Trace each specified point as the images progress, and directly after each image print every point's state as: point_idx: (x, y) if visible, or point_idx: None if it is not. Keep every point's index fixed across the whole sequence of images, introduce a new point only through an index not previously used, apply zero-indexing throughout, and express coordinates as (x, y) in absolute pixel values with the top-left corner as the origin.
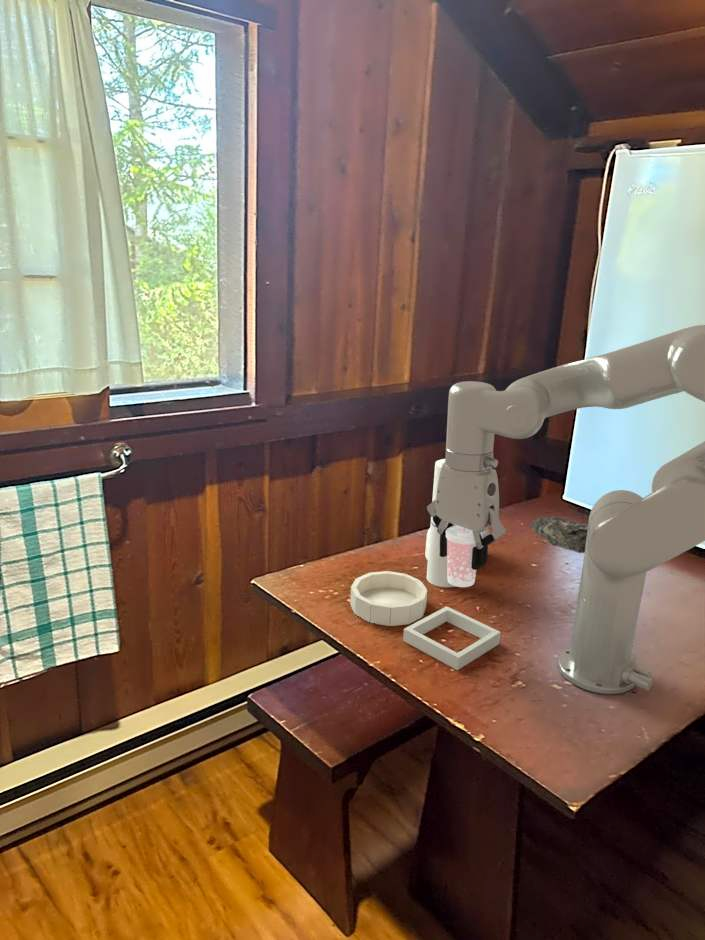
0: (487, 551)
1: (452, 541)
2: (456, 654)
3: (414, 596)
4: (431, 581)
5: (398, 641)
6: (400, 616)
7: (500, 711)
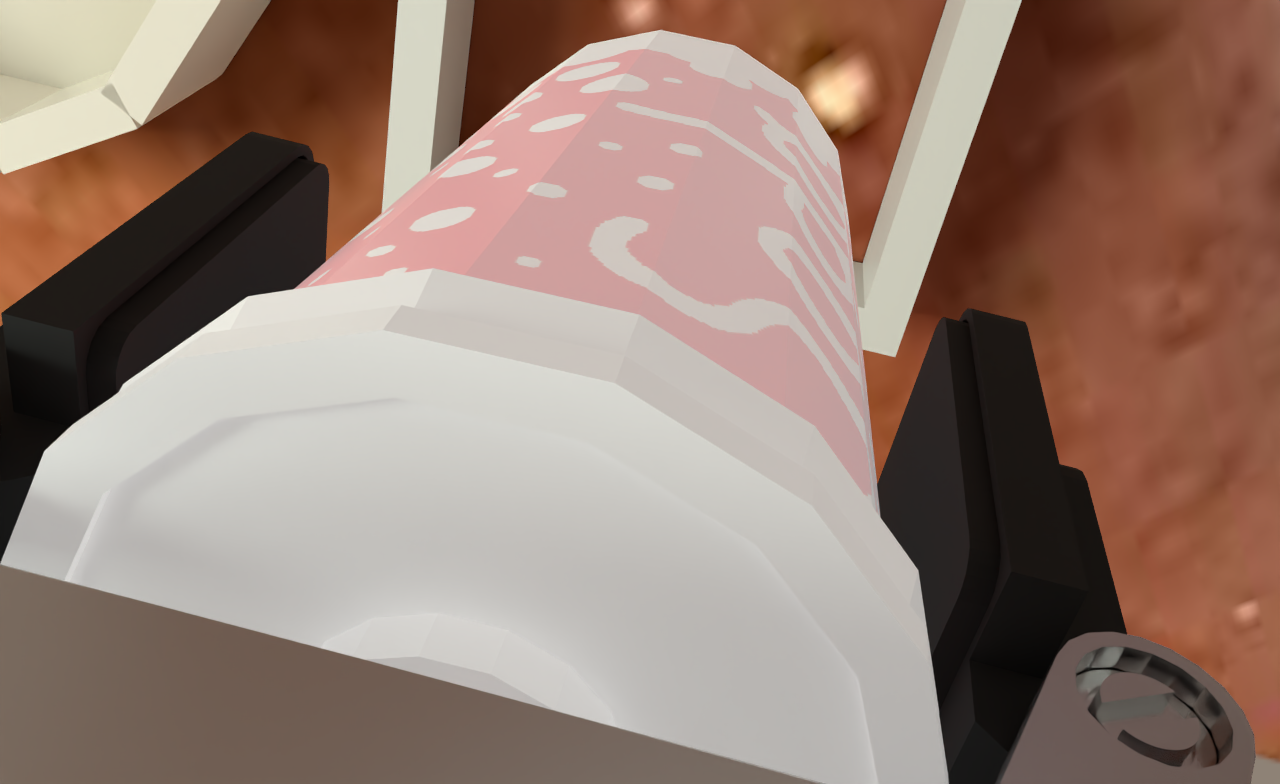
0: (1118, 604)
1: None
2: (864, 327)
3: None
4: None
5: None
6: (226, 33)
7: (1269, 532)
